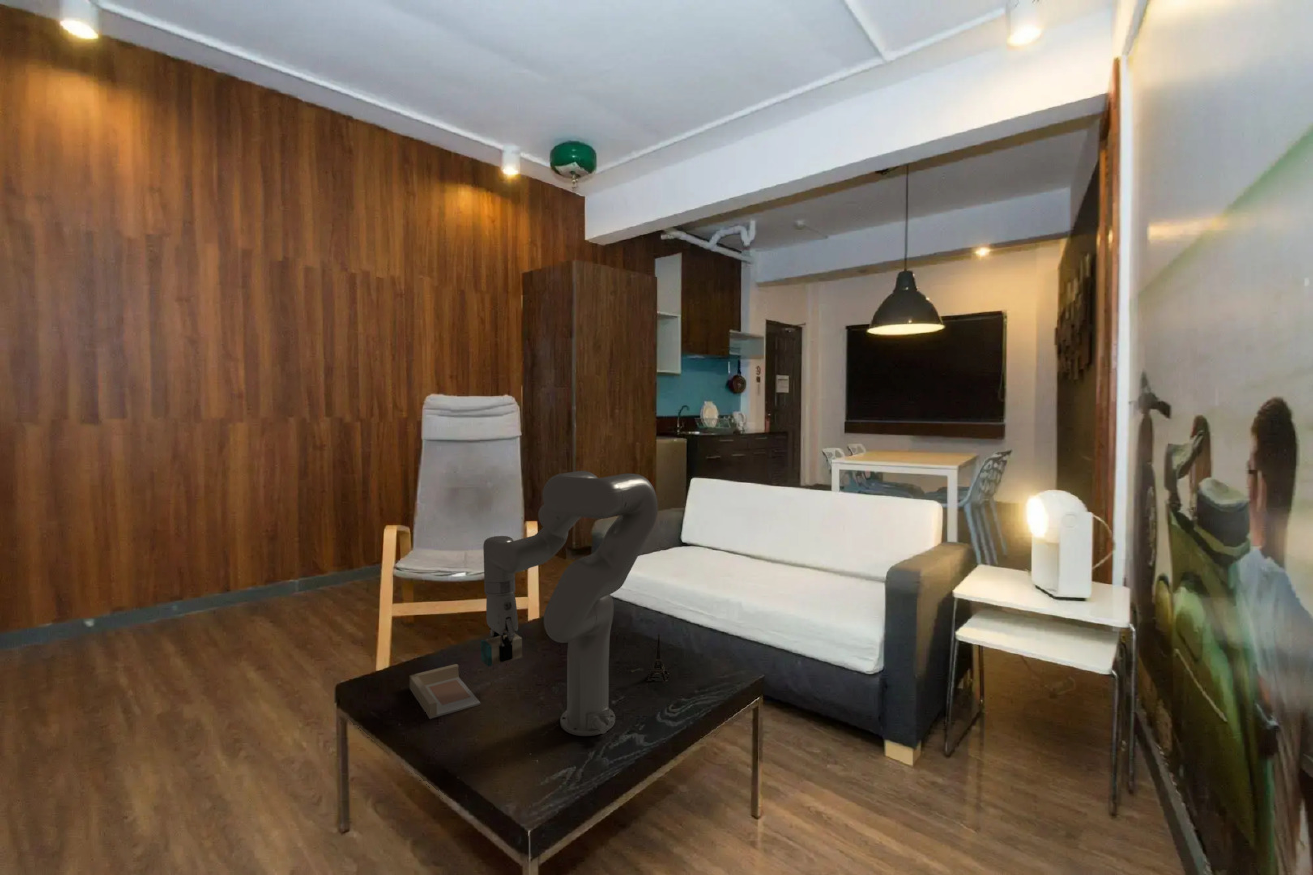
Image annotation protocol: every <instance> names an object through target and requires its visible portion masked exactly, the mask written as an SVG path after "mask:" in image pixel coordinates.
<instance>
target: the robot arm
mask: <svg viewBox="0 0 1313 875" xmlns="http://www.w3.org/2000/svg"><path fill="white" fill-rule="evenodd" d="M542 500H543V504H542V506H541V507H540V508H539V510H538V513H537V514H538V521H539V522H540V525H541V526H542V528H541V529H540V530H539V531H538V532H536V533H535V534H534V535H531V536H526V537H523V538H520V539H516V540H514V539H513V538H512V537H510V536H508V535H497V536H495V535H494V536H490V537H488V538H486V539H485V540H484V542H483V546H482V548H483V575H484V576H483V577H484V578H483V579H484V585H483V586H484V594H485V595H486V607H485V612H486V614H485V615H486V624H487V626H488V627H489V630H490V634H489V638H493V637H497V636H500V644H501V646H499V658H500V662H504V661H507V660H511V659H512V658H513V655H512V644H513V639H514V637H515V635H514V633H516V632H517V631H518V629H519V621H518V619H519V618H518V611H517V610H518V607H517V600H516V595H515V592H516V573H521V572H522V571H526V570H529V569H531V568H534V567H537V566H540V565H543V564H545V563H547V562H548V561H550V560H551V559H552V558H553V557H555V555H556V554H557V553H558V552H559V551H560V550H561V549H562V548H563V547H564V546H565V544H566V543H567V540H568V537H569V531H570V530H571V529H572V528H573V526H575V525H576V523H577V522H578V521H579V520H580V519H581V518H586V519H588V518H589V519H597V520H602V519H603V520H604V519H609V518H614V517H617V518H616V519H615V521H614V522H612V524H611V525H610V526H609V528H608V529H607V531H606V533H605V535H604V537H603V539H602V541H601V543H600V545H599V546H598V548H597V549H596V550H595V551H594V552H592V553H591V554H589V555H585V556H583V557H580V558H578V559H576V560H574V561H573V562H572V563H570V564H569V565H568V566H567V567H565V570H564V571H563V573H562V574H561V575H560V578H559V580H558V582H557V584H556V586H555V588H554V591H552V594H551V596H550V599H548V602H547V605H546V607H545V610H544V612H543V613H544V614H543V627H544V629H545V632H546V634H547V635H548V637H549V638H551V640H553V641H555V642H557V643H563V644H564V643H568V644H567V656H566V657H567V658H566V661H567V662H566V665H567V666H566V668H567V669H566V670H567V671H566V672H567V673H566V674H567V675H566V676H567V677H566V678H567V679H566V680H567V681H566V682H567V683H566V684H567V685H566V687H567V688H566V689H567V691H566V693H567V694H566V699H567V700H566V702H567V703H566V707H567V708H566V710H564V712H562V714H561V716H560V720H559V723H560V726H561V728H562V729H563V730H564V731H565V732H567V734H568V733H569V734H570V735H573V736H577V737H591V736H597V735H598V736H599V735H601V734H602V735H604V734H606V733H607V731H609V730H611V729H612V728H613V727H614V725H615V723H616V715H615V713H614V711H613V710H612V709H611V708H609V700H610V699H609V695H610V694H609V692H610V690H609V687H610V680H609V678H610V676H609V674H610V673H609V672H610V670H609V668H610V666H609V665H610V661H609V660H610V641H611V640H610V637H611V629H612V624H613V620H614V613H615V612H614V609H615V608H614V600H613V597H612V596H611V594H613V593H615V592H617V591H618V590H620V589H621V588H622V586H623V585H624V584H625V582H626V579H627V578H628V576H629V574H630V572H631V570H632V568H633V566H634V565H635V562H636V561H637V559H638V557H639V555H640V553H641V550H642V548H643V547H644V546H645V543H646V541H647V540H648V538H649V536H650V534H651V532H652V531H653V528H654V526H655V523H656V521H657V517H658V511H659V503H658V496H657V493H656V491H655V488H654V486H653V485H652V483H651V482H650V481H649V479H647V478H646V477H645V476H643V475H642V474H638V473H621V474H616V475H615V474H614V475H611V476H610V475H609V476H604V477H598V476H597V475H595V474H594V473H592V472H590V471H586V470H577V471H575V470H574V471H570V472H563V473H557V474H555V475H553V476H552V477H550V478H549V479H548V480H547V481H546V482H545V484H544V486H543V489H542ZM504 635H507V637H505V639H504V638H503V636H504ZM511 661H512V660H511ZM507 662H508V661H507ZM504 663H505V662H504Z"/></svg>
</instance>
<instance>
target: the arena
mask: <svg viewBox="0 0 1313 875" xmlns="http://www.w3.org/2000/svg"><path fill="white" fill-rule="evenodd" d="M459 671H460V670H459V664H457V663H454V664H450V665H446V666H442V667H438V668H433V669H430V670H426V671H422V672H418V673H414V674H409V690H410V691H411V693H412V694H413V697H415V699H416V701H417V702H418V703H419V705H420V706H421V709H423V711H424V713H425V712H426V713H425V714H426V715H427V717H428V719H430V720H431V719H434V718H438V717H441V716H445V715H449V714H452V713H455V712H460V711H462V710H466V709H469V708H470V709H471V708H474V707H476V706H479V705H481V701H479V698H477V697H476V695H475V694H474V693H473V692H472V691H471V690H470V688H469V687H468V686H467V685H466V684H465V683H464V681H462V679H461V678H460V677H459V674H460V673H459Z"/></svg>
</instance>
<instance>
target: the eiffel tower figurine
mask: <svg viewBox="0 0 1313 875" xmlns="http://www.w3.org/2000/svg"><path fill="white" fill-rule="evenodd" d="M657 634H658V635H657V648H656V657H655V662H654V664H653V665H652V666H653V669H652V671H649V674H650V676H649V675H648V677H647V679H648V680H647V682H653V681H652V680H651V678H659V677H652V676H653V675H654V674H661V676H662V678H663V682H662V683H667V682H668V680H666V677H665V674H669V673H668V672H667V670H666V669H665V667H666V666H665V664H664V663H663V660H662V658H663V657H662V656H661V655H662V654H661V653H662V652H661V634H660V633H657ZM658 663H659V664H658ZM664 666H665V667H664ZM639 671H644V668H643V667H639V668H635V669H632V670H630V673H634V672H639ZM664 672H665V674H664ZM664 681H665V682H664ZM666 681H667V682H666Z"/></svg>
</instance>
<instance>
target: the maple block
mask: <svg viewBox="0 0 1313 875" xmlns="http://www.w3.org/2000/svg"><path fill="white" fill-rule="evenodd" d="M514 635H515V637H514V639H513V644H512V655H513V658H512V659H511V660H507V661H504V662H500V658H499V646H501V644H500V636H497V637H493V638H491V637H489V638H485V639H482V640H480V661H481V662H482V663H483V664H484V665H486V666H487V667H492V666H496V665H499V664H503V663H506V662H511V661H515V660H517V659H521V658H523V638H522V637H521V636H519V635H518V634H517V633H516V632H514ZM505 637H507V635H504V636H503V638H504V639H505Z"/></svg>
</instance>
